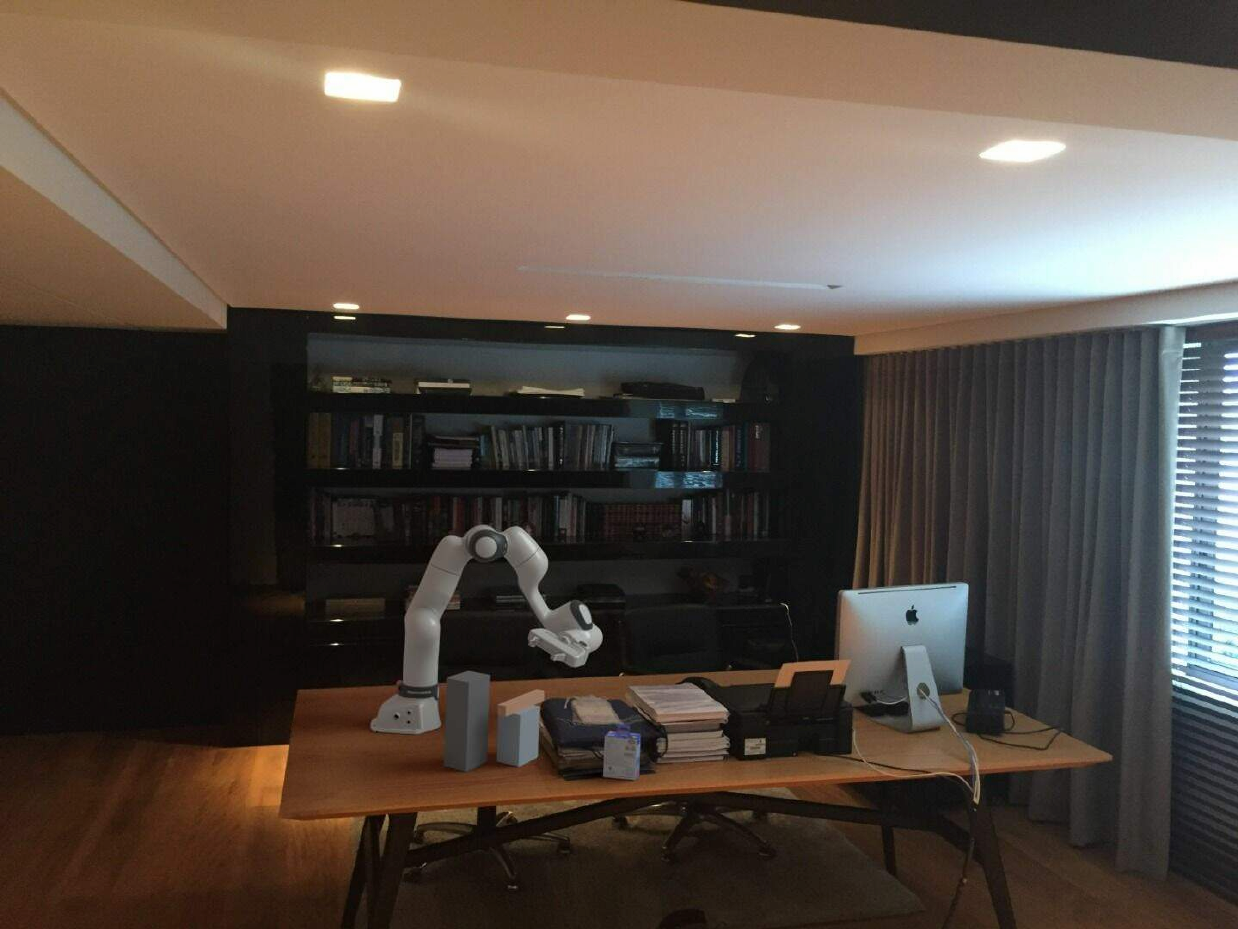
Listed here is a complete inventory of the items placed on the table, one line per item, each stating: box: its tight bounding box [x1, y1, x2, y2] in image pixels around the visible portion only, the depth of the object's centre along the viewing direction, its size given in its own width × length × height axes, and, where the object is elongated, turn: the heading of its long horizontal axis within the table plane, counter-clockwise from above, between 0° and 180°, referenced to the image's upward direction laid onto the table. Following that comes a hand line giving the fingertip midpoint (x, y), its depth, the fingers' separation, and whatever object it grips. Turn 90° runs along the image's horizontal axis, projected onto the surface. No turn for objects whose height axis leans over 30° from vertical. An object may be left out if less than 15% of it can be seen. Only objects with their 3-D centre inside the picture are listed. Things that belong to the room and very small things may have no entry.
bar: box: [496, 688, 545, 717], centre depth 296 cm, size 20×3×3 cm, turn 150°
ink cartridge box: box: [602, 724, 642, 781], centre depth 285 cm, size 10×6×14 cm, turn 78°
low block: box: [496, 705, 541, 768], centre depth 295 cm, size 10×8×16 cm
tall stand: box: [443, 670, 491, 773], centre depth 289 cm, size 10×8×26 cm
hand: (541, 650), depth 312 cm, fingers open, 8 cm apart
